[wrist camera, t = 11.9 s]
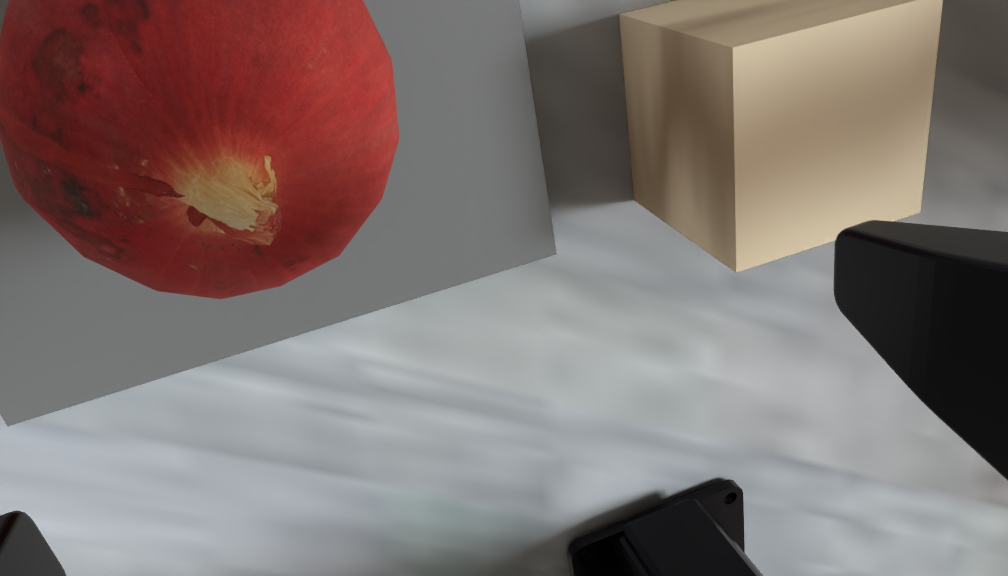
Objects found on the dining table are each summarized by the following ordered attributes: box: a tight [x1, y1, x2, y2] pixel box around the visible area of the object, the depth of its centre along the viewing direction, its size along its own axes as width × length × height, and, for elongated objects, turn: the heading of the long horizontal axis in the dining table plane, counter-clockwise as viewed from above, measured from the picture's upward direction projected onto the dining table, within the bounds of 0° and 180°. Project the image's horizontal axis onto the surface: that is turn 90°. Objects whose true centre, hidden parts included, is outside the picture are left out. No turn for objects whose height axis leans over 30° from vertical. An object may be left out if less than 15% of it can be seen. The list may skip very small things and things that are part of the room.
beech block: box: [619, 0, 943, 273], centre depth 19 cm, size 5×5×5 cm
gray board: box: [0, 0, 556, 426], centre depth 16 cm, size 13×13×2 cm
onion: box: [0, 0, 400, 299], centre depth 12 cm, size 6×6×8 cm
